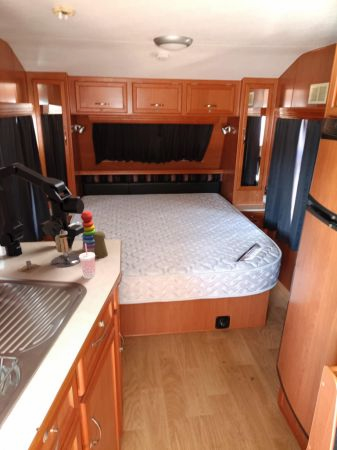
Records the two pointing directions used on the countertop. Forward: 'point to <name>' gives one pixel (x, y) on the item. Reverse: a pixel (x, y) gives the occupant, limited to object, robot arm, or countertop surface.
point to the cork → (100, 245)
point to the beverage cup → (88, 263)
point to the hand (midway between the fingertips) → (64, 246)
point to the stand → (29, 267)
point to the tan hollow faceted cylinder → (62, 243)
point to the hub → (65, 260)
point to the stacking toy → (88, 231)
